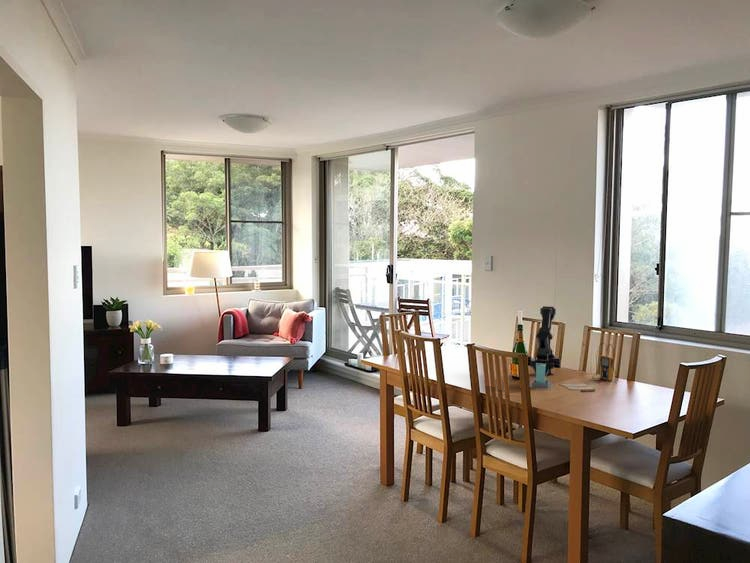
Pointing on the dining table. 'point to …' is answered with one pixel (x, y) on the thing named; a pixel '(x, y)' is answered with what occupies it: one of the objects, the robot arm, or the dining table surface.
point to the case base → (541, 385)
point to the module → (540, 373)
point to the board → (578, 387)
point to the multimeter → (606, 366)
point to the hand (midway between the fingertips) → (540, 375)
